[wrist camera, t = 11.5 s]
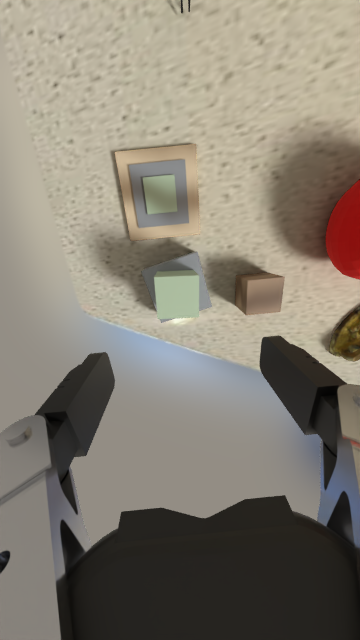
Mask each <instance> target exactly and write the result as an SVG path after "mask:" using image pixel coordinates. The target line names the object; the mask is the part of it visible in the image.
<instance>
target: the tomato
mask: <svg viewBox="0 0 360 640" xmlns="http://www.w3.org/2000/svg"><path fill="white" fill-rule="evenodd" d="M326 249H327V253H328V256H329V258H330V260H331V261H332V263H333V265H334V266H335V267H336V268H337V269H338V270H339V271H340V272H341V273H342V274H344V275H346V276H349V277H352V278H356V279H360V179H359V180H358V181H357V182H356V183H355V184H354V185H353V186H352V187H351V188H350V189H349V190H348V191H347V192H346V193H345V194H344V195H343V196H342V197H341V199H340V200H339V201H338V202H337V204H336V206H335V208H334V209H333V211H332V214H331V216H330V219H329V222H328V226H327V230H326Z"/></svg>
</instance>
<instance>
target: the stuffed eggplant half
mask: <svg viewBox="0 0 360 640" xmlns="http://www.w3.org/2000/svg"><path fill="white" fill-rule="evenodd" d="M329 351H330V353H331V354H333V355H335V356H338V357H340V356H342V357H343V358H344V359H346V360H349V361H353V362H354V361H357V360H359V359H360V307H358V308H357V309H356V310H354V311H353V312H352V313H351V314H350V315H349V316H348V317H347V318H346V319H345V320H344V321H343V322H342V323H341V324H340V325H339V327H338V328H337V329H336V331H335V333H334V335H333V337H332V340H331V343H330V350H329Z"/></svg>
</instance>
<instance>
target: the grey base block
mask: <svg viewBox="0 0 360 640" xmlns="http://www.w3.org/2000/svg"><path fill="white" fill-rule="evenodd" d="M180 270H194V271H195V272H196V273H197V274H198V275H199V311H200V310H203V309H207V308H210V307H212V305H211V301H210V297H209V293H208V290H207V286H206V282H205V278H204V275H203V271H202V267H201V263H200V259H199V256H198V252H191V253H188V254H185V255H183V256H180V257H177V258H174V259H171V260H168V261H165V262H162V263H159V264H156V265H153V266H150V267H147V268H145V269H143V270H142V271H141V273H142V275H143V278H144V280H145V283H146V285H147V288H148V290H149V293H150V296H151V298H152V301H153V303H154V306H155V308H156V311H157V305H156V294H155V283H154V276H155V275H156V273H157V271H180ZM173 319H175V318H173ZM169 320H172V319H160V321H161V323H162V322H165V321H169Z"/></svg>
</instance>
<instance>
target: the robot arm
mask: <svg viewBox="0 0 360 640" xmlns="http://www.w3.org/2000/svg"><path fill="white" fill-rule="evenodd" d="M260 369H261V372H262V374H263V376H264V377H265V379H266V380H267V382H268V383H269V384H270V386H271V387H272V388H273V390H274V391H275V393H276V394H277V396H278V397H279V399H280V400H281V401H282V403H283V404H284V406H285V407H286V409H287V410H288V411H289V413H290V414H291V416H292V417H293V418H294V420H295V421H296V423H297V424H298V426H299V427H300V428H301V430H302V431H303V433H304V434H305V435H311V434H318V435H319V436H320V437H321V439H322V440H321V444H320V504H319V510H318V517H317V521H316V520H314V519H312V518H310V517H308V516H305V515H303V514H300V513H297V512H294V511H292V510H291V508H290V505H289V503H288V501H287V499H286V497H285V495H284V496H274V497H264V498H255V499H245V500H243V501H241V502H239V503H237V504H235V505H233V506H231V507H229V508H227V509H225V510H223V511H221V512H219V513H217V514H215V515H213V516H211V517H208V518H198V517H195V516H190V515H187V514H183V513H179V512H176V511H172V510H168V509H164V508H154V509H144V510H134V511H124V512H121V516H120V522H119V527H118V529H116V530H113V531H112V532H110V533H109V534H107V535H106V536H104V537H103V538H102V539H100V540H99V541H98V542H97V543H95V544H94V545H93V546H92V545H91V541H90V538H89V536H88V533H87V530H86V528H85V525H84V522H83V518H82V514H81V509H80V505H79V500H78V496H77V492H76V487H75V483H74V478H73V474H72V470H71V467H70V464H71V462H72V460H73V458H74V457H80V456H86V455H87V452H88V450H89V448H90V445H91V443H92V440H93V437H94V435H95V433H96V430H97V428H98V426H99V423H100V421H101V418H102V416H103V413H104V411H105V408H106V406H107V404H108V401H109V399H110V396H111V394H112V391H113V389H114V383H115V379H114V375H113V371H112V367H111V364H110V360H109V357H108V354H107V353H106V352H103V353H94V354H89V355H88V357H87V358H86V359H85V360H84V362H83V363H82V364H81V365H78V366H77V367H76V368H74V369H73V370H71V371H70V372H69V373H68V374H67V376H66V377H65V378H64V379H63V381H62V382H61V383H60V384H59V386H58V388H57V389H55V390H54V392H53V393H52V394H51V395H50V397H49V398H48V399H47V400H46V402H45V403H44V404H43V405H42V406H41V408H40V409H39V410H38V411H37V412H36V414H35V415H33V416H28V417H25V418H23V419H21V420H19V421H17V422H15V423H13V424H12V425H10V426H9V427H7V428H6V429H5V430H4V431H2V432H1V433H0V640H360V385H354V384H347V383H345V382H344V381H343V380H342V379H340V378H339V377H338V376H336V375H335V374H334V373H333V372H331V371H330V370H329V369H328V368H326V367H325V366H324V365H323V364H321V363H319V361H317V360H316V359H315V358H314V357H312V356H311V355H310V354H309V353H307V352H306V351H305V350H304V349H301V348H299V347H297V346H295V345H293V344H290V343H288V342H287V341H286V340H285V339H284V338H282V337H281V336H270V337H264V338H263V339H262V343H261V354H260Z"/></svg>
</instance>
